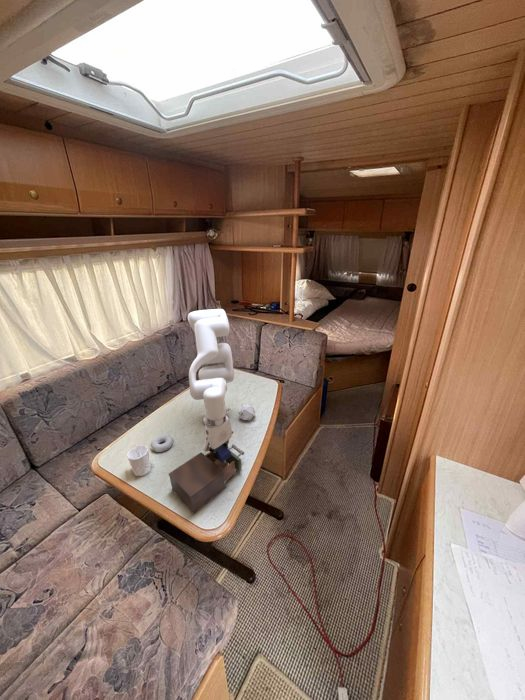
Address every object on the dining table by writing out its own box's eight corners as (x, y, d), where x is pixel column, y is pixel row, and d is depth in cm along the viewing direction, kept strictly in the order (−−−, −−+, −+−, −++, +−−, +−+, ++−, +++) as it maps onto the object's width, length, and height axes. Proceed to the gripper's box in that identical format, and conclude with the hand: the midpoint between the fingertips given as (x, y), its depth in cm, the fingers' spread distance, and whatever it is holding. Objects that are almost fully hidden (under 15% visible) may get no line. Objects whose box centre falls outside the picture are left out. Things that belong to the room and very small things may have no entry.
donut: (164, 455, 124) (177, 440, 132) (163, 450, 122) (176, 435, 131) (147, 451, 127) (160, 436, 136) (145, 445, 126) (159, 431, 134)
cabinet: (203, 467, 117) (201, 452, 113) (225, 487, 107) (223, 471, 104) (172, 489, 107) (168, 473, 104) (193, 514, 98) (190, 497, 94)
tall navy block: (210, 452, 113) (209, 447, 111) (218, 446, 116) (218, 441, 114) (222, 462, 108) (221, 457, 106) (231, 456, 110) (230, 450, 109)
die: (237, 415, 150) (233, 410, 142) (248, 403, 153) (245, 397, 144) (247, 426, 147) (244, 421, 138) (259, 413, 149) (256, 408, 141)
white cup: (140, 480, 112) (135, 462, 108) (128, 472, 116) (123, 454, 112) (156, 467, 118) (151, 449, 114) (144, 460, 122) (140, 442, 118)
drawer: (229, 448, 125) (228, 436, 123) (250, 464, 117) (249, 451, 114) (195, 473, 113) (193, 460, 110) (215, 492, 104) (213, 479, 102)
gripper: (203, 433, 96) (209, 471, 104) (239, 411, 107) (241, 447, 115) (191, 424, 101) (197, 461, 108) (227, 404, 112) (230, 439, 119)
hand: (220, 453), depth 111 cm, fingers closed on tall navy block, 4 cm apart
